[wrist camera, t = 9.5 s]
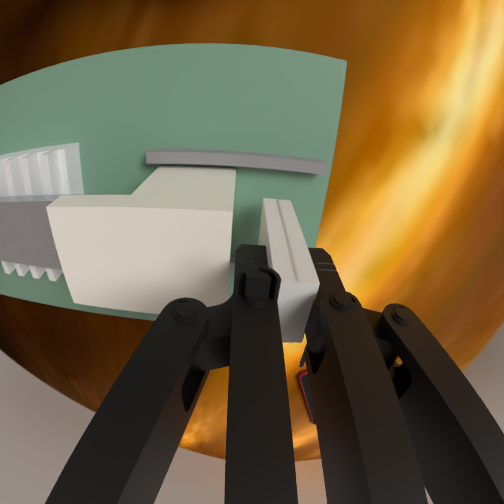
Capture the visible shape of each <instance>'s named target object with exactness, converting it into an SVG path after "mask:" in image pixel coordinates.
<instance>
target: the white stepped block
mask: <svg viewBox="0 0 504 504" xmlns="http://www.w3.org/2000/svg"><path fill="white" fill-rule="evenodd" d="M235 180H236V168H221V167H198V166H159V167H158V168H157V169H156V170H155V171H154V172H153V173H152V174H151V175H150V176H149V177H148V178H147V179H146V180H145V181H144V182H143V183H142V184H141V185H140V186H139V187H138V188H137V189H136V190H135V191H134V192H133V193H132V194H131V195H61V196H60V197H58V198H57V199H56V200H54V201H53V202H52V203H51V204H49V205H48V206H47V207H46V208H47V213H48V217H49V222H50V226H51V230H52V234H53V238H54V242H55V246H56V250H57V253H58V257H59V260H60V263H61V267H62V270H63V273H64V276H65V279H66V282H67V285H68V288H69V291H70V294H71V296H72V299H73V302H74V303H77V304H83V305H90V306H96V307H103V308H111V309H118V310H126V311H134V312H143V313H152V314H160V313H161V311H162V310H163V308H164V307H165V306H166V305H167V304H168V303H169V302H171V301H173V300H175V299H178V298H184V297H187V298H194V299H197V300H199V301H201V302H203V303H204V304H205V305H206V306H207V307H210V306H215V305H219V304H222V303H224V302H226V301H227V300H228V289H229V272H230V256H231V240H232V224H233V209H234V194H235Z"/></svg>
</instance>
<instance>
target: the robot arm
mask: <svg viewBox="0 0 504 504" xmlns="http://www.w3.org/2000/svg"><path fill="white" fill-rule="evenodd" d="M304 334H306V339H307V344H306V347H305V350H304V353H303V355H302V358H301V361H300V367H303V365H304V362H305V361H306V367H307V373H308V378H309V384H310V390H311V396H312V402H313V408H314V414H315V420H316V427H317V433H318V439H319V446H320V453H321V460H322V467H323V473H324V481H325V489H326V497H327V504H428V501H427V497H426V493H425V489H424V486H425V488H426V490H427V492H428V494H429V496H430V498H431V500H432V502H433V504H504V434H503V432H502V430H501V429H500V427H499V426H498V424H497V423H496V421H495V419H494V418H493V416H492V415H491V413H490V412H489V410H488V409H487V407H486V406H485V404H484V403H483V401H482V400H481V398H480V397H479V395H478V394H477V393H476V391H475V390H474V388H473V387H472V386H471V384H470V383H469V381H468V380H467V379H466V377H465V376H464V374H463V373H462V372H461V370H460V369H459V368H458V366H457V365H456V364H455V363H454V361H453V360H452V359H451V357H450V356H449V355H448V353H447V352H446V351H445V350H444V348H443V347H442V346H441V345H440V343H439V342H438V341H437V340H436V338H435V337H434V336H433V335H432V333H431V332H430V331H429V330H428V329H427V327H426V326H425V325H424V324H423V323H422V321H421V320H420V319H419V318H418V317H417V316H416V314H415V313H414V312H413V311H412V310H410V309H409V308H408V307H406V306H404V305H401V304H397V303H395V304H389V305H387V306H386V307H385V308H384V310H383V312H382V313H380V312H376V311H372V310H368V309H365V308H362V306H361V304H360V302H359V300H358V299H357V298H356V297H355V296H354V295H352V294H351V293H349V292H346V291H345V289H344V286H343V284H342V281H341V279H340V277H339V274H338V272H337V271H336V267H335V265H334V263H333V261H332V258H331V256H330V255H329V254H328V253H327V252H326V251H325V250H324V249H323V248H309V247H307V244H306V241H305V238H304V236H303V233H302V230H301V227H300V225H299V222H298V219H297V216H296V214H295V211H294V208H293V206H292V203H291V200H280V199H268V198H263V205H262V214H261V223H260V232H259V241H258V245H251V244H241V245H240V246H239V247H238V248H237V249H236V255H235V270H234V287H233V294H232V296H231V297H230V298H229V299H228V300H227V301H226V302H224V303H222V304H219V305H215V306H210V307H207V306H206V305H205V304H204V303H203V302H201V301H199V300H197V299H194V298H187V297H184V298H178V299H175V300H173V301H171V302H169V303H168V304H167V305H166V306H165V307H164V308H163V310H162V311H161V313H160V314H159V316H158V317H157V319H156V320H155V321H154V323H153V324H152V326H151V327H150V329H149V330H148V332H147V333H146V335H145V336H144V338H143V339H142V341H141V342H140V344H139V345H138V347H137V348H136V350H135V352H134V353H133V355H132V356H131V358H130V359H129V361H128V362H127V364H126V365H125V367H124V369H123V370H122V372H121V373H120V375H119V376H118V378H117V380H116V381H115V383H114V384H113V386H112V387H111V389H110V391H109V392H108V394H107V395H106V397H105V399H104V400H103V402H102V404H101V405H100V407H99V408H98V410H97V412H96V413H95V415H94V417H93V418H92V420H91V422H90V423H89V425H88V427H87V428H86V430H85V432H84V434H83V435H82V437H81V439H80V440H79V442H78V444H77V446H76V448H75V449H74V451H73V453H72V454H71V456H70V458H69V460H68V462H67V464H66V465H65V467H64V469H63V471H62V472H61V474H60V476H59V478H58V480H57V482H56V484H55V485H54V487H53V489H52V491H51V493H50V495H49V497H48V499H47V501H46V503H45V504H154V501H155V499H156V497H157V495H158V492H159V490H160V488H161V485H162V483H163V480H164V478H165V476H166V473H167V471H168V469H169V466H170V464H171V462H172V459H173V457H174V455H175V452H176V450H177V448H178V445H179V443H180V441H181V438H182V436H183V434H184V431H185V429H186V427H187V424H188V422H189V419H190V417H191V415H192V412H193V410H194V408H195V405H196V403H197V400H198V398H199V396H200V393H201V391H202V388H203V386H204V384H205V381H206V379H207V377H208V374H209V372H210V370H212V369H217V368H222V367H226V366H229V385H228V408H227V433H226V464H225V502H224V503H225V504H298V497H297V485H296V472H295V461H294V450H293V439H292V429H291V419H290V409H289V399H288V389H287V380H286V371H285V362H284V353H283V344H282V342H302V340H303V337H304ZM398 356H399V357H400V359H401V360H402V362H403V363H402V364H401V365H398V364H397V363H396V361H395V360H396V359H397V358H398Z"/></svg>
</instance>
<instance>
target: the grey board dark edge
mask: <svg viewBox="0 0 504 504" xmlns="http://www.w3.org/2000/svg"><path fill="white" fill-rule="evenodd" d="M62 195H121V194H62ZM60 196H61V195H28V196H7V197H0V260H1V261H6V262H12V263H18V264H25V265H31V266H38V267H44V268H51V269H58V270H62V267H61V263H60V260H59V257H58V253H57V250H56V246H55V242H54V238H53V234H52V230H51V226H50V222H49V217H48V213H47V208H46V207H47V206H48V205H49V204H51V203H52V202H53V201H54V200H56V199H57V198H58V197H60Z"/></svg>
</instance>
